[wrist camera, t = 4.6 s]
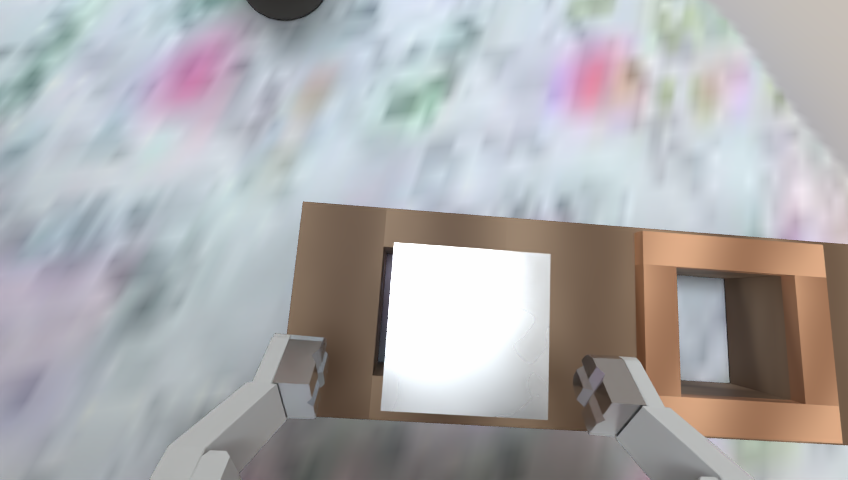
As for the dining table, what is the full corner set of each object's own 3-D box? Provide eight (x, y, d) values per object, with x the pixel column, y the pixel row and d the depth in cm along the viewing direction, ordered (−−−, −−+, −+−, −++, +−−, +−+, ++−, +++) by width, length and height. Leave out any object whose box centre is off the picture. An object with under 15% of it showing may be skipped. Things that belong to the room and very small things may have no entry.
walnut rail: (298, 394, 18) (271, 419, 14) (318, 215, 19) (299, 198, 16) (801, 422, 19) (893, 452, 15) (787, 251, 20) (869, 243, 17)
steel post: (393, 347, 18) (380, 410, 8) (400, 269, 19) (394, 242, 9) (471, 352, 18) (547, 420, 9) (475, 274, 19) (550, 254, 9)
